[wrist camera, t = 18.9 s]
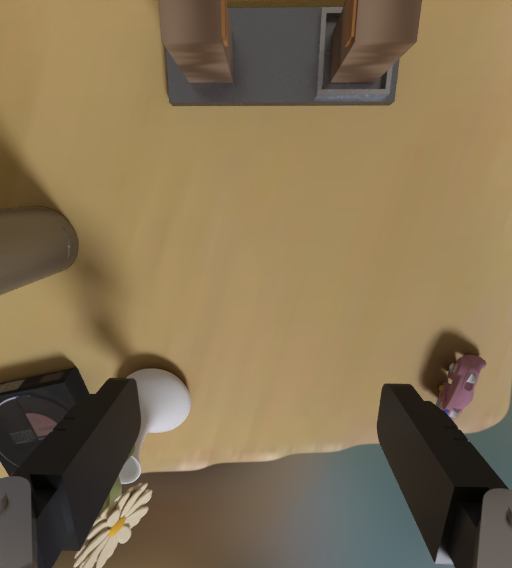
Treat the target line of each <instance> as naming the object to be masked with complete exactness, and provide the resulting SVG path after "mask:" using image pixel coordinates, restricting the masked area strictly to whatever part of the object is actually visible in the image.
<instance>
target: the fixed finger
mask: <svg viewBox="0 0 512 568" xmlns="http://www.w3.org/2000/svg"><path fill="white" fill-rule="evenodd" d="M159 13H160V26H161V40H162V43H163V45H164V46H165V48H166V49H167V50H168V52H169V53H170V55H171V56H172V58H173V59H174V61H175V62H176V64H177V65H178V67H179V68H180V69H181V71H182V72H183V74H184V75H185V77H186V78H187V80H188V81H189V83H233V44H232V26H231V21H230V16H229V11H228V6H227V0H159Z"/></svg>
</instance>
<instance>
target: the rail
mask: <svg viewBox="0 0 512 568" xmlns="http://www.w3.org/2000/svg"><path fill="white" fill-rule="evenodd" d="M342 9H343V7H257V8H228V11H229V16H230V21H231V26H232V44H233V83H189V81H188V80H187V78H186V77H185V75H184V74H183V72H182V71H181V69H180V68H179V67H178V65H177V64H176V62H175V61H174V59H173V58H172V56H171V55H170V53H169V52H168V50H167V49H166V63H167V77H168V91H169V103H170V104H171V105H173V106H325V105H390V104H392V103H393V102H394V100H395V92H396V83H397V75H398V67H399V59H398V60H397V61H396V62H395V63H394V64H393V65H392V66H391V67H390V68H389V69H388V70H387V71H386V72H385V73H384V74H383V75H382V76H381V77H380V78H379V79H378V80H377V81H376V82H375V83H330V73H331V58H332V42H333V30H334V28H335V25H336V23H337V21H338V18H339V16H340V14H341V11H342Z"/></svg>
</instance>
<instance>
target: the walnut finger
mask: <svg viewBox="0 0 512 568" xmlns="http://www.w3.org/2000/svg"><path fill="white" fill-rule="evenodd" d="M421 4H422V0H346V2H345V4H344V7H343V9H342V11H341V14H340V16H339V18H338V21H337V23H336V25H335V28H334V30H333V42H332V58H331V73H330V83H375V82H376V81H377V80H378V79H379V78H380V77H381V76H382V75H383V74H384V73H385V72H386V71H387V70H388V69H389V68H390V67H391V66H392V65H393V64H394V63H395V62H396V61H397V60H398V59H399V58H400V57H401V56H402V55H403V54H404V53H406V52H407V51H408V50H409V49H410V48H411V47H412V46H413V45H414V44H415V43H416V42H417V34H418V27H419V19H420V11H421Z"/></svg>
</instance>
